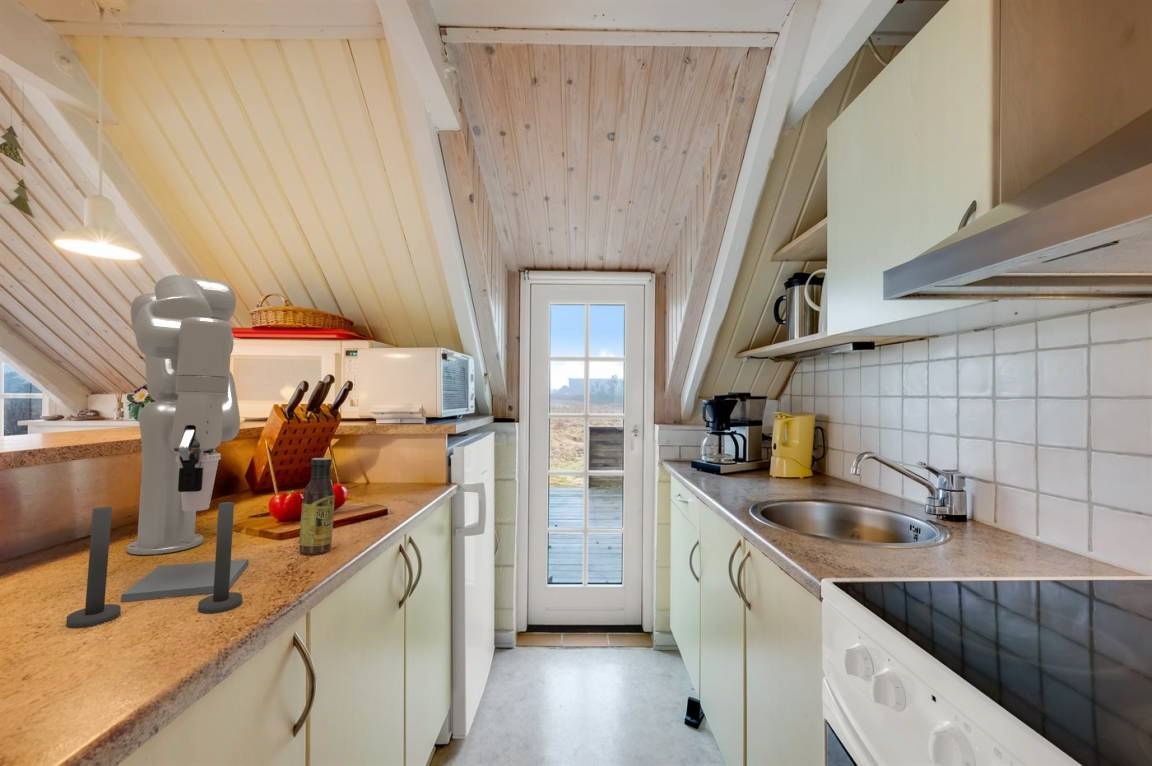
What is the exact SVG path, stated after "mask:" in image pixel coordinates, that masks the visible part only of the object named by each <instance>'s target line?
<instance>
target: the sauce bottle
mask: <svg viewBox="0 0 1152 766" xmlns="http://www.w3.org/2000/svg"><path fill="white" fill-rule="evenodd" d="M332 465H333V459H332V458H331V457H313V458H311V459H310V466H311V473H310V477H309V478H310V480H309V482H308V483H307V485H306V486H305V488H304V489H303V493H302V495H303V496H302V503H301V514H300V515H301V516H300V527H299V539H298V545H299V553H300V554H302V555H317V554H322V553H323V554H324V553H326V552H328V551H329V550H330V549H331V546H332V542H333V530H334V529H333V528H334V527H333V526H334V519H335V518H334V517H335V516H334V515H335V501H336V495H335V494H336V493H335V491H334V488H333V484H332V481H331V466H332Z"/></svg>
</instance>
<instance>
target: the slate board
mask: <svg viewBox="0 0 1152 766" xmlns="http://www.w3.org/2000/svg"><path fill="white" fill-rule="evenodd" d="M249 560H250V558H245V559H244V558H241V559H231V566H230V584H229V589H231V587H232V586H233V585H234V583H235V582H236V581H237V580H238V579H239V577H240V576H241V575H242V574H243V572H244V571H245V570H246V569H245V568H247V567H249ZM244 569H245V570H244ZM214 575H215V561H204V562H193V563H191V562H190V563H180V564H179V563H178V564H168V565H166V564H165V565H159V566H157V567H156V568H155V569H154V570H152V571H151V572H150V573H148V574H147V575H145V576H143V578H141V579H140V580H138V581H137V582H136V583H135V584H133V585H132V586H131V587H129V588H128V589H126V590H125V591H124V592H122V594H121V595H120V596H121V597H120V603H125V602H127V601H128V602H135V600H139V601H146V600H145V599H149V600H155V599H154V598H159V599H166V598H165V597H169V598H177V597H178V596H179V597H187V596H189V595H190V596H197V595H198V596H199V595H208V594H213V592H214ZM179 597H178V598H179Z"/></svg>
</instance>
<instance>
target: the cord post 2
mask: <svg viewBox="0 0 1152 766" xmlns="http://www.w3.org/2000/svg"><path fill="white" fill-rule="evenodd" d="M217 509H218V510H217V512H218V513H217V526H216V528H217V529H216V530H217V531H216V544H215V560H214V562H215V575H214V592H213V593H212V594H213V595H209V596H206V597H204V598H202V599H201V600H199V601H198V604H197V611H198V613H202V614H219V613H222V612H227V611H231V610H233V609H236V608H238V607H239V606H240V605H242V604H243V594H242V593H241V592H236V591H235V592H233V591H231V592H230V588H229V584H230V566H231V560H232V547H233V546H232V545H233V528H234V512H235V511H234V510H235V502H233V501H227V502H226V501H225V502H220V503H218V508H217Z"/></svg>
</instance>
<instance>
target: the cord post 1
mask: <svg viewBox="0 0 1152 766" xmlns="http://www.w3.org/2000/svg"><path fill="white" fill-rule="evenodd" d="M112 510H113V507H112V506H103V507H101V506H100V507H95V508H92V514H91V515H92V516H91V517H92V518H91V519H92V520H91V529H90V530H91V531H90V541H89V542H90V543H89V555H88V556H89V557H88V567H87V578H86V579H87V580H86V583H87V584H86V594H85V596H86V597H85V605H84V606H85V607H84V608H81V609H79V610H75V611H73V612H71V613H70V614H68V615H67V616H66V623H65V625H66V627H67V628H71V629H81V628H82V627H83V628H89V626H90V627H95V626H98V625H97V624H99V625H102V624H101V623H103V624H105V623H104V622H106V623H109V622H112V621H114V620H116V619H117V618H119V617H120V616H121V612H122V611H121V608H122V606H121V605H119V604H116V603H115V604H114V603H106V602H105V601H106V590H107V589H106V588H107V577H108V576H107V575H108V566H109V565H108V564H109V563H108V561H109V551H110V540H111V539H110V537H111V535H110V534H111V523H112V513H113V512H112ZM105 603H106V604H105ZM119 615H120V616H119ZM118 616H119V617H118ZM115 618H116V619H115ZM113 619H114V620H113ZM108 621H109V622H108ZM94 625H95V626H94Z"/></svg>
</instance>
